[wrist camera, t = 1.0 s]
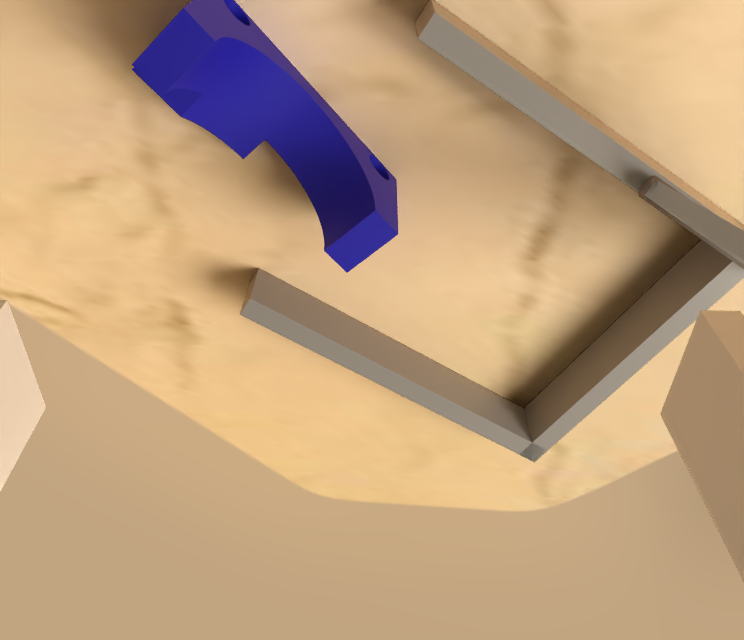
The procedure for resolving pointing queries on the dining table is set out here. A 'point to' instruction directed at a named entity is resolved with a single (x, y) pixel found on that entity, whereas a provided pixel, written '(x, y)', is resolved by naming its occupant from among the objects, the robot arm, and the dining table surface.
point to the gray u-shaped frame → (592, 367)
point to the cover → (695, 218)
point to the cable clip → (273, 120)
